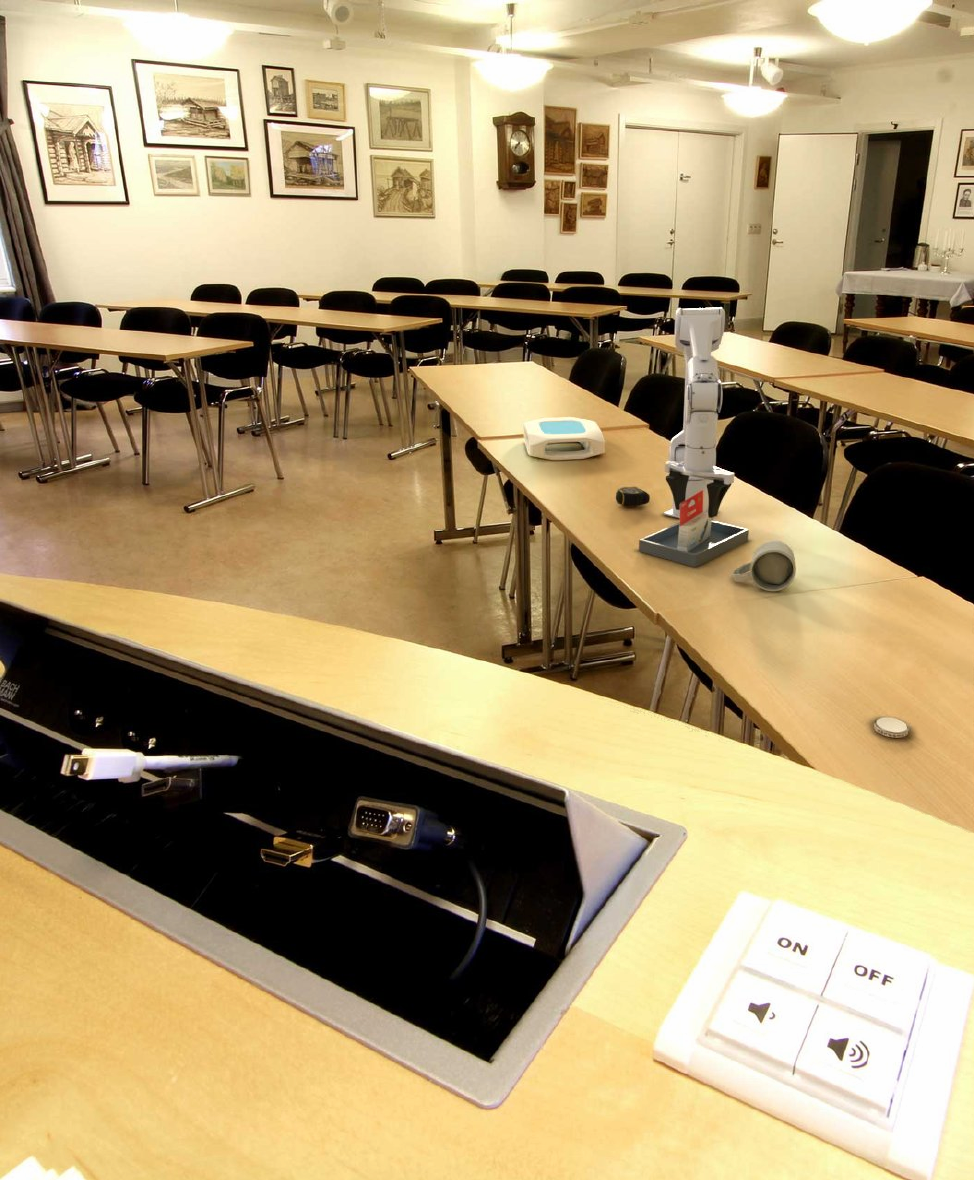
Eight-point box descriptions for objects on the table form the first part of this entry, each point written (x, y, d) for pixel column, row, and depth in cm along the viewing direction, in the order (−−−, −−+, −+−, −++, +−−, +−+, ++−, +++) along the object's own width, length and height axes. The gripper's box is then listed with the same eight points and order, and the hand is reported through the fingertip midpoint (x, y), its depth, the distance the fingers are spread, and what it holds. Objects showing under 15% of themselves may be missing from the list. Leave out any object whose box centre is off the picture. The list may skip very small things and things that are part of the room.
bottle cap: (874, 734, 106) (875, 730, 106) (873, 718, 110) (874, 714, 110) (909, 739, 105) (910, 735, 105) (906, 723, 108) (907, 719, 108)
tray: (692, 527, 181) (693, 515, 180) (747, 540, 172) (749, 529, 171) (638, 551, 169) (639, 539, 168) (694, 567, 160) (695, 555, 159)
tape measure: (650, 507, 194) (651, 491, 192) (623, 511, 192) (624, 495, 190) (637, 499, 200) (637, 484, 198) (610, 503, 198) (611, 487, 196)
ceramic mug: (792, 576, 154) (796, 536, 151) (793, 593, 147) (797, 552, 144) (733, 572, 157) (735, 533, 154) (730, 589, 150) (733, 549, 147)
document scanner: (590, 435, 261) (590, 415, 258) (605, 458, 235) (605, 436, 233) (523, 438, 260) (522, 418, 258) (530, 461, 235) (530, 439, 232)
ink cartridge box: (711, 536, 173) (714, 491, 169) (687, 553, 165) (690, 505, 161) (699, 534, 175) (702, 489, 171) (676, 550, 167) (678, 503, 163)
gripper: (657, 444, 164) (654, 510, 170) (722, 455, 154) (716, 525, 160) (677, 437, 169) (674, 501, 174) (742, 448, 159) (736, 516, 164)
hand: (696, 512), depth 167 cm, fingers open, 7 cm apart
